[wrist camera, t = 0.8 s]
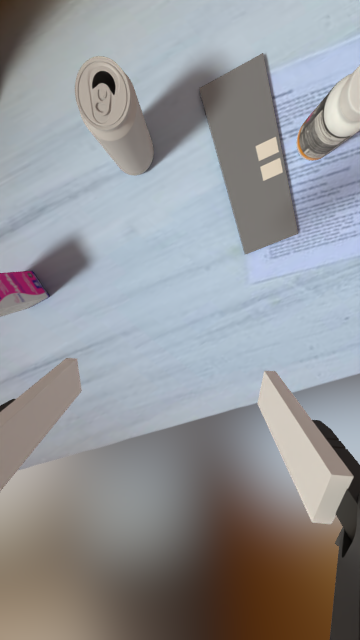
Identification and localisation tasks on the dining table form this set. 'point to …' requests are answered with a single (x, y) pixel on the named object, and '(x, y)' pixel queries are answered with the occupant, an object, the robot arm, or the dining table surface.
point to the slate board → (250, 154)
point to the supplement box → (20, 291)
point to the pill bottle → (332, 120)
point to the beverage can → (114, 114)
